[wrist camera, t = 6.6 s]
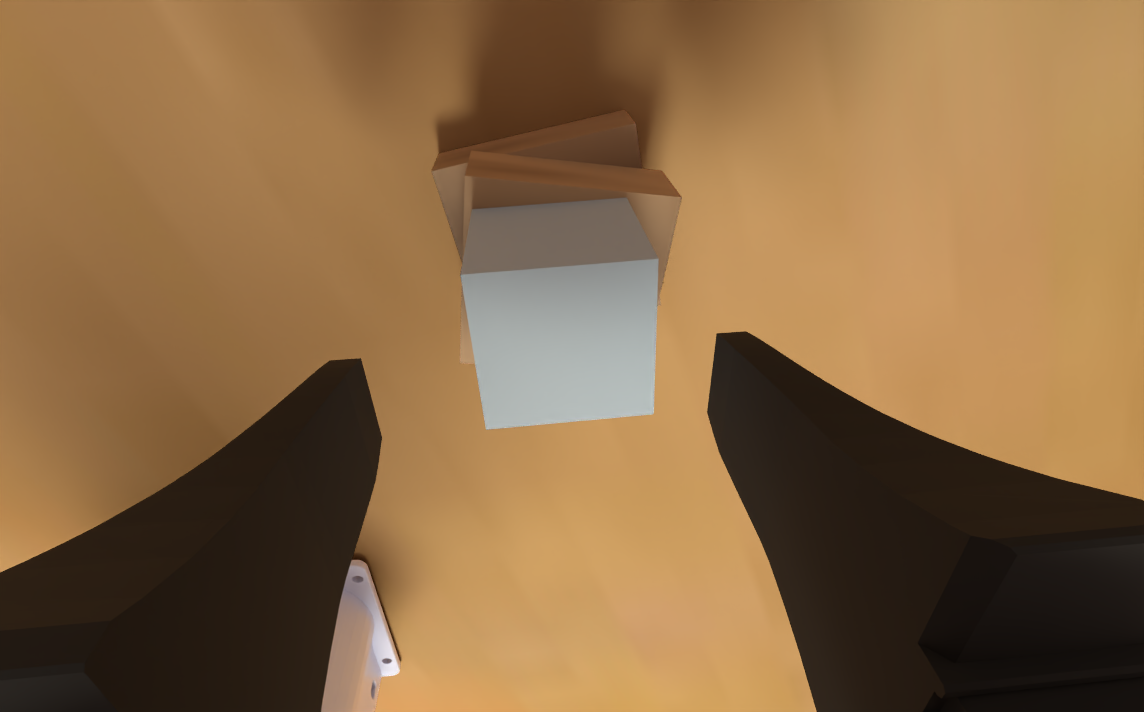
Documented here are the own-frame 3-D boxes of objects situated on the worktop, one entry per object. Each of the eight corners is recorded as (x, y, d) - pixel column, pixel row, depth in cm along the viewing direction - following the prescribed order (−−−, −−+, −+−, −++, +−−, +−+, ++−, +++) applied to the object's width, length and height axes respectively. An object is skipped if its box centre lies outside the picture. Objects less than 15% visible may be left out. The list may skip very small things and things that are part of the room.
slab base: (647, 273, 22) (661, 305, 20) (491, 308, 22) (489, 343, 20) (622, 106, 19) (635, 123, 17) (440, 149, 19) (431, 171, 17)
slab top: (629, 332, 21) (641, 373, 18) (465, 322, 20) (459, 363, 18) (661, 170, 18) (682, 197, 15) (471, 150, 17) (465, 175, 15)
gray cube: (626, 330, 18) (653, 414, 14) (491, 342, 17) (486, 429, 14) (626, 197, 15) (658, 258, 12) (472, 208, 15) (460, 274, 12)
